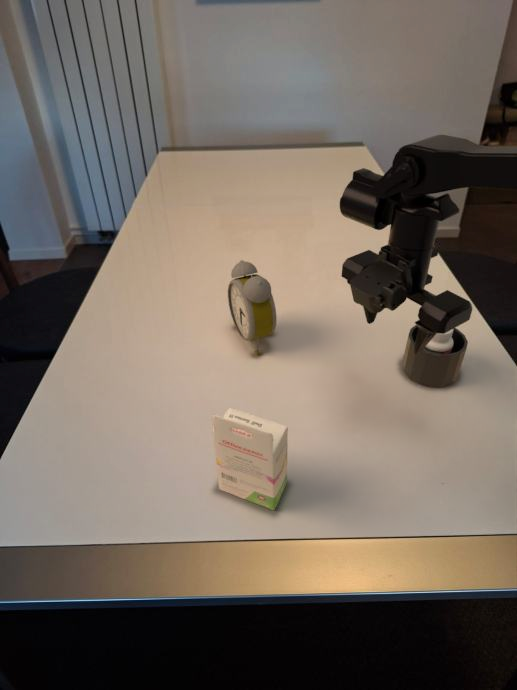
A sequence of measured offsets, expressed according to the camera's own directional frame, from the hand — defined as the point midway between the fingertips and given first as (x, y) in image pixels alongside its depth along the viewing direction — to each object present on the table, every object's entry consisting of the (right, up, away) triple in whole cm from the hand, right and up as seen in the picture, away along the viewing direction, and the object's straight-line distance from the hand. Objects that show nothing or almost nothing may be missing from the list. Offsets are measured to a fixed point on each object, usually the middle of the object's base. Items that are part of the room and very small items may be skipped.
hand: (392, 337), depth 74 cm
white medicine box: (-21, -21, -5) cm, 30 cm away
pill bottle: (+10, -5, +13) cm, 18 cm away
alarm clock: (-20, 0, +22) cm, 30 cm away
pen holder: (+10, -6, +14) cm, 18 cm away
